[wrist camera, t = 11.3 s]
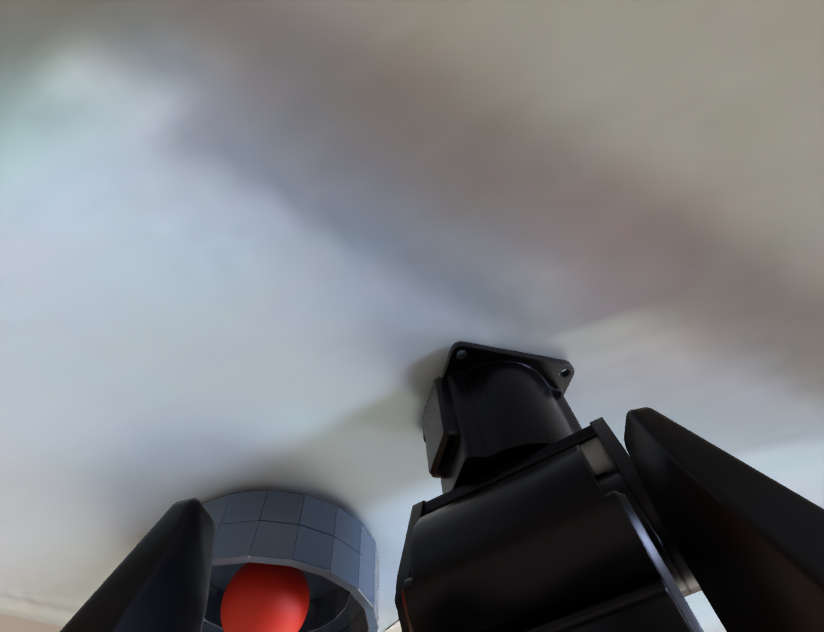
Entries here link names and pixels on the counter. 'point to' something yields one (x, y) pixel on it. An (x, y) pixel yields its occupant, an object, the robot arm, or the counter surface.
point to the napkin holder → (395, 628)
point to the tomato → (265, 599)
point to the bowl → (298, 556)
